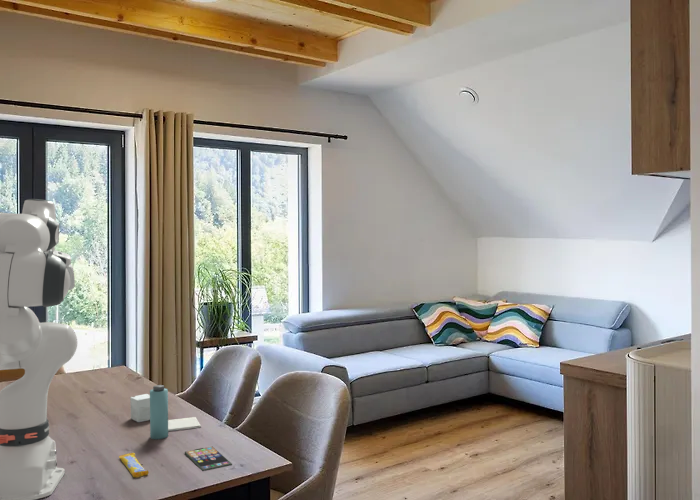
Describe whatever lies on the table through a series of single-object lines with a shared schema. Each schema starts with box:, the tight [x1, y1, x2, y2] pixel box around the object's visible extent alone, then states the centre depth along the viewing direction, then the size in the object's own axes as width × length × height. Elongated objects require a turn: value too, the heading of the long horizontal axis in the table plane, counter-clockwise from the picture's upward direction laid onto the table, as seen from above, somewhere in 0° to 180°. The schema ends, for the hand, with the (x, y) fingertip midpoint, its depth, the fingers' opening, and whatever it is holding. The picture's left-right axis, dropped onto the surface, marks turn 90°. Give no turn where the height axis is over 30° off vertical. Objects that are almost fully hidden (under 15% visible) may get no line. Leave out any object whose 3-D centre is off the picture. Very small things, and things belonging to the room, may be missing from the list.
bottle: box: [149, 384, 169, 440], centre depth 193 cm, size 5×5×15 cm
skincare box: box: [129, 393, 150, 423], centre depth 211 cm, size 6×6×7 cm
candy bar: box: [118, 452, 150, 479], centre depth 168 cm, size 17×4×2 cm, turn 31°
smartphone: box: [184, 446, 233, 472], centre depth 174 cm, size 8×15×1 cm, turn 32°
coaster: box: [168, 416, 202, 432], centre depth 204 cm, size 10×10×1 cm
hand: (34, 304), depth 181 cm, fingers open, 8 cm apart
